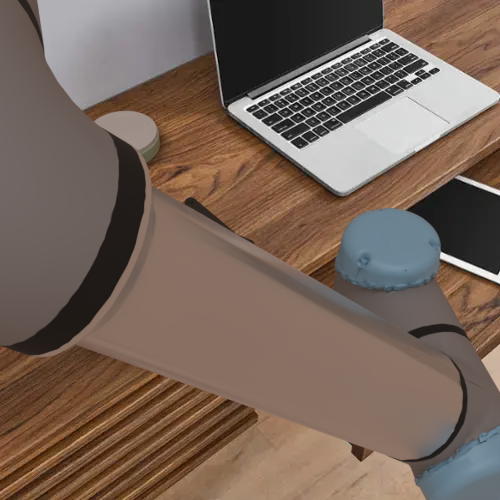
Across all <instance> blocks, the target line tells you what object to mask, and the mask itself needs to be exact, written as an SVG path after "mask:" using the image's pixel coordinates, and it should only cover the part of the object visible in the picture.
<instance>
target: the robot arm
mask: <svg viewBox="0 0 500 500" xmlns="http://www.w3.org/2000/svg"><path fill="white" fill-rule="evenodd" d="M38 3H39V2H38V0H0V347H3V348H6V349H7V350H11V351H14V352H17V353H20V354H22V355H26V356H30V357H34V358H49V357H53V356H56V355H58V354H61V353H63V352H65V351H67V350H69V349H70V348H72V347H74V346H78V347H81V348H82V349H85V350H89V351H92V352H95V353H97V354H100V355H102V356H105V357H107V358H108V357H109V358H111V359H114V360H117V361H121V362H122V363H126V364H128V365H131V366H133V367H137V368H139V369H142V370H145V371H147V372H151V373H154V374H156V375H159V376H162V377H165V378H167V379H170V380H173V381H176V382H179V383H182V384H184V385H188V386H190V387H193V388H196V389H198V390H201V391H204V392H206V393H210V394H212V395H215V396H218V397H221V398H224V399H226V400H228V401H229V400H230V401H232V402H234V403H238V404H241V405H244V406H245V407H249V408H252V409H255V410H258V411H260V412H264V413H266V414H269V415H272V416H275V417H277V418H280V419H283V420H285V421H289V422H291V423H294V424H297V425H299V426H303V427H306V428H308V429H311V430H314V431H317V432H319V433H322V434H324V435H328V436H331V437H333V438H336V439H339V440H342V441H344V442H348V443H350V444H352V445H355V446H358V447H362V448H364V449H367V450H369V451H373V452H376V453H378V454H381V455H383V456H386V457H388V458H391V459H393V460H395V461H398V462H401V463H403V464H406V465H407V466H408V467H410V469H411V472H412V475H413V477H414V479H413V481H414V483H415V486H416V487H417V488H419V489H420V491H421V493H422V495H423V496H424V499H425V500H500V389H499V388H498V387H497V385H496V383H495V381H494V379H493V378H492V376H491V374H490V372H489V371H488V369H487V367H486V366H485V364H484V362H483V361H482V359H481V357H480V356H479V354H478V352H477V350H476V349H475V347H474V345H473V343H472V341H471V340H470V338H469V336H468V334H467V332H466V329H464V327H463V325H462V323H461V321H460V320H459V318H458V316H457V315H456V312H455V311H454V309H453V306H452V305H451V304H450V302H449V300H448V298H447V297H446V295H445V293H444V291H443V289H442V288H441V286H440V284H439V281H438V279H437V275H438V274H439V272H440V268H441V262H440V261H441V260H440V259H441V253H442V249H441V246H442V244H441V240H440V237H439V234H438V232H437V231H436V229H435V228H434V227H433V226H432V224H431V223H429V222H428V221H427V220H426V219H424V218H423V217H422V216H420V215H418V214H416V213H413V212H411V211H408V210H405V209H403V208H402V209H401V208H397V207H396V208H395V207H383V208H379V209H377V208H375V209H373V210H367V211H364V212H362V213H360V214H358V215H356V216H355V217H354V218H352V219H351V220H350V221H349V222H348V224H346V226H345V228H344V230H343V232H342V235H341V239H340V245H339V248H338V254H337V255H336V257H335V259H334V269H335V272H334V274H335V275H334V284H333V289H332V288H331V287H330V286H327V285H326V284H324V283H322V282H320V281H319V280H317V279H315V278H314V277H312V276H310V275H308V274H306V273H305V272H304V271H301V270H300V269H298V268H296V267H294V266H292V265H291V264H289V263H288V262H286V261H284V260H282V259H280V258H279V257H277V256H275V255H274V254H272V253H271V252H269V251H267V250H265V249H263V248H261V247H259V246H257V245H256V244H255V241H254V240H252V239H250V238H247V237H245V236H243V235H241V234H238V233H236V232H235V231H234V230H233V229H232V228H231V227H229V226H228V225H227V224H226V223H225V222H223V221H222V220H221V219H219V218H218V217H217V215H215V214H214V213H213V212H212V211H210V210H209V209H208V208H207V207H206V206H205V205H203V204H202V203H201V202H200V201H198V200H197V199H196V198H195V197H191V196H190V197H186V199H184V203H183V202H182V201H180V200H178V199H176V198H175V197H173V196H171V195H170V194H168V193H166V192H164V191H163V190H161V189H159V188H158V187H155V186H154V185H152V180H151V173H150V170H149V167H148V164H147V163H146V161H145V159H144V158H143V156H142V154H141V153H140V152H139V151H138V150H137V149H136V148H135V147H133V146H132V145H130V144H128V143H127V142H125V141H124V140H122V139H120V138H119V137H117V136H115V135H114V134H112V133H110V132H109V131H107V130H105V129H104V128H102V127H100V126H99V125H98V124H96V123H95V122H94V121H95V120H93V119H91V118H90V117H89V116H88V115H87V114H86V113H85V112H84V110H82V109H81V108H80V107H79V105H77V103H75V102H74V101H73V99H72V98H71V97H70V96H69V94H68V93H67V92H66V90H65V89H64V88H63V86H62V85H61V84H60V83H59V81H58V79H57V77H56V75H55V74H54V72H53V71H52V69H51V66H50V65H49V63H48V61H47V59H46V53H45V44H44V37H43V36H44V35H43V30H42V23H41V16H40V10H39V4H38Z"/></svg>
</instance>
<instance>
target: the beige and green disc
mask: <svg viewBox="0 0 500 500" xmlns="http://www.w3.org/2000/svg"><path fill="white" fill-rule="evenodd" d="M93 121H94V122H95V123H96V124H98V125H99V126H100V127H102V128H104V129H105V130H107V131H109V132H110V133H112V134H114V135H115V136H117V137H119V138H120V139H122V140H124V141H125V142H127V143H128V144H130V145H132V146H133V147H135V148H136V149H137V150H138V151H139V152H140V153H141V154H142V156H143V158H144V159H145V161H146V164H147V163H148V162H150V161H151V160H152V159H154V158H155V157H156V155H157V154H158V153H159V150H160V147H161V141H160V140H161V139H160V131H159V128H158V126H157V124H156V123H155V120H153V119H152V118H151V117H150V116H148V115H146V114H145V113H141V112H139V111H134V110H119V111H111V112H109V113H106V114H104V115H101V116H100V117H98V118H96V119H95V120H93Z"/></svg>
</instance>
